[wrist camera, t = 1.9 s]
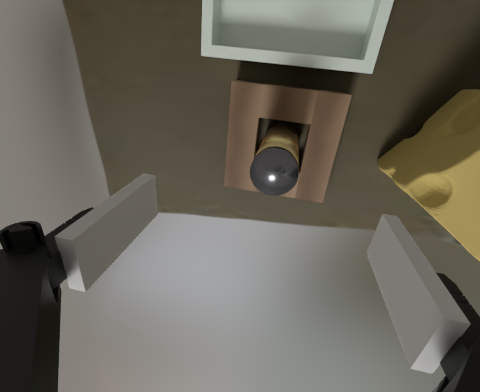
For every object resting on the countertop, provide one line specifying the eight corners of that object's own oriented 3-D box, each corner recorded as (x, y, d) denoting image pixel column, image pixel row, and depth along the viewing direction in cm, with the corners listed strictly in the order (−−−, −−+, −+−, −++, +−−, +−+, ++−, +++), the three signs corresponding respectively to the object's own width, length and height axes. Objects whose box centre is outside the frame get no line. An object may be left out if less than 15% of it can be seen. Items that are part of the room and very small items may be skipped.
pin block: (347, 92, 27) (351, 95, 25) (320, 194, 33) (322, 203, 31) (236, 79, 29) (231, 81, 27) (228, 178, 34) (224, 186, 32)
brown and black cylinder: (301, 125, 30) (303, 153, 20) (295, 159, 32) (293, 199, 22) (267, 121, 30) (252, 146, 21) (262, 154, 32) (247, 191, 22)
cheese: (373, 160, 30) (403, 199, 21) (466, 80, 25) (556, 87, 16) (434, 215, 31) (487, 273, 23) (534, 149, 26) (652, 189, 18)
